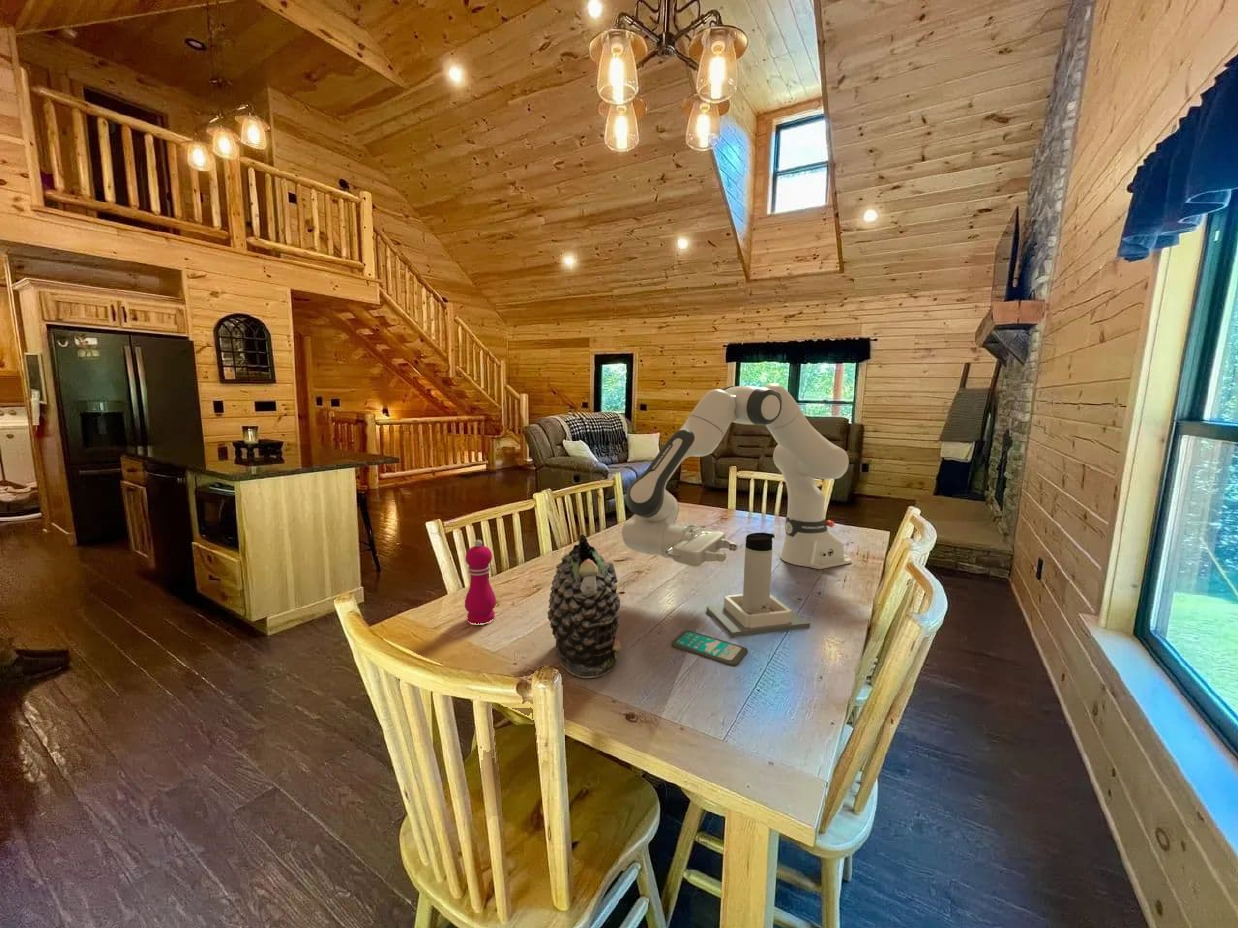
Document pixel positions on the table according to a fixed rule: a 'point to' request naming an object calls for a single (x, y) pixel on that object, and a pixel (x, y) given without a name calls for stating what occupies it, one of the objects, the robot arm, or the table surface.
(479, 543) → the pepper mill
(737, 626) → the tray
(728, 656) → the smartphone
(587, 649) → the decorative house
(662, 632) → the table surface
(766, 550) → the travel mug
